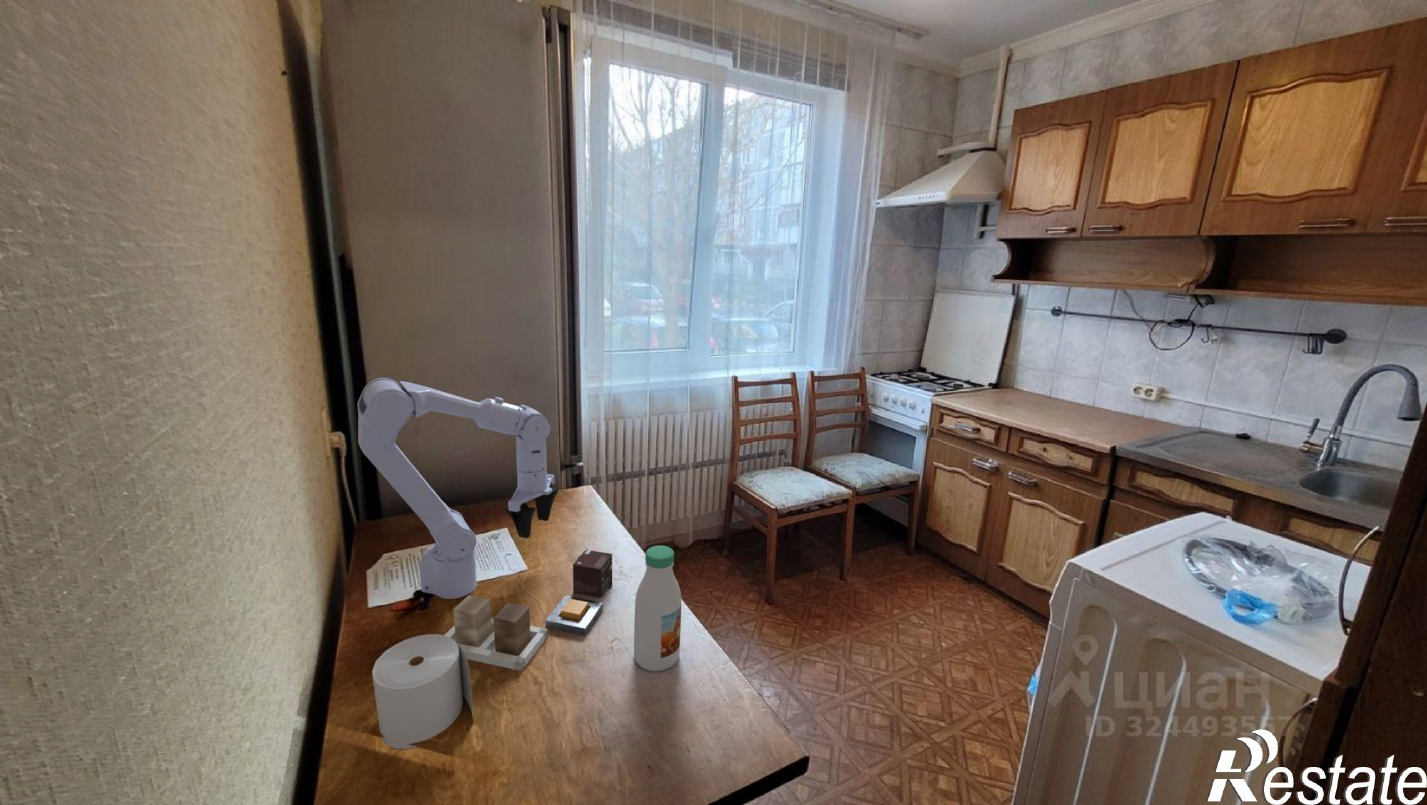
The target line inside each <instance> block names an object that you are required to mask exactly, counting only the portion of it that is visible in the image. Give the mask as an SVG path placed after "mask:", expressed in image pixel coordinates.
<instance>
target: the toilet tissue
mask: <svg viewBox="0 0 1427 805" xmlns="http://www.w3.org/2000/svg"><path fill="white" fill-rule="evenodd" d="M444 635H445V634H444ZM444 635H443V634H436V633H434V634H433V633H432V634H431V633H430V634H423V635H422V634H421V635H417V636H412V637H409V638H407V639H404V640H402V641H400V642H398V643H395V644H394V645H393V646H391V647H390V648H387V649H386V650H384V652H383V653H382V654H381V655H380V656H379V657H378V658H377V659H376V660H375V663H374V666H373V668H372V671H371V673H372V674H371V675H372V681H373V682H372V684H373V687H374V688H373V689H374V696H375V697H374V698H375V702H376V712H377V714H376V715H377V719H378V729H379V732H380V734H381V736H382V737H381V739H382V740H383V743H384V744H385V745H387V746H389V747H391V748H393V749H396V750H397V749H399V750H400V749H401V750H408V749H415V748H418V746H417V745H416V746H415V745H413V744H416V743H420V742H423V741H424V742H425V741H428V740H430V739H432V738H433V737H435V736H437V735H439V734H441V733H443V732H444V731H445V730H446V729H448V728H449V727H450V726H451V725H452V724H453V723H454V722H455V720H457V718H458V717H459V715H461V712H462V708H463V704H464V699H465V701H466V703H467V704H468V707H469V709H470V712H471V714H472V717H474V711H473V710H474V709H473V699H472V695H473V694H472V687H471V674H470V665H469V659H467V657H466V656H465V652H464V651H463V650H462V648H461V647H460V646H459V645H458V644H457V643H456V642H455V641H454V640H453V639H451V638H449V637H447V636H444ZM463 697H464V698H463Z"/></svg>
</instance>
